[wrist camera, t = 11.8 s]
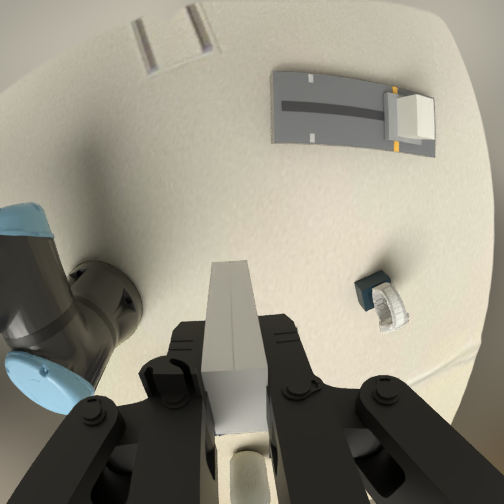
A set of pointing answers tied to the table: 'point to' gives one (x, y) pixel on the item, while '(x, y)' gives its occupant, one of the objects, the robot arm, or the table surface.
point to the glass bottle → (248, 479)
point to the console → (334, 113)
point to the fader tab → (408, 118)
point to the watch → (382, 301)
